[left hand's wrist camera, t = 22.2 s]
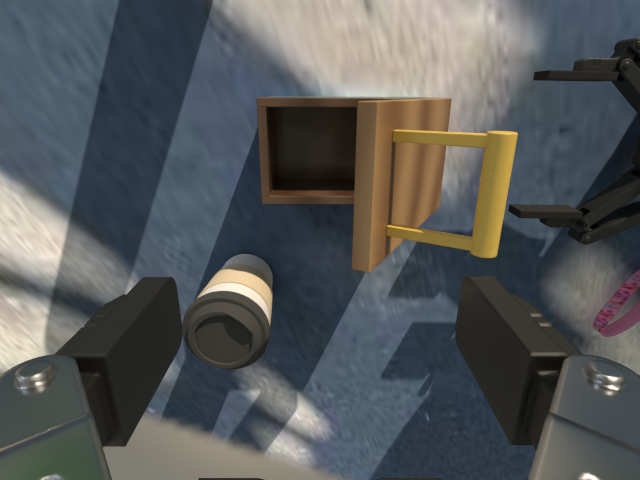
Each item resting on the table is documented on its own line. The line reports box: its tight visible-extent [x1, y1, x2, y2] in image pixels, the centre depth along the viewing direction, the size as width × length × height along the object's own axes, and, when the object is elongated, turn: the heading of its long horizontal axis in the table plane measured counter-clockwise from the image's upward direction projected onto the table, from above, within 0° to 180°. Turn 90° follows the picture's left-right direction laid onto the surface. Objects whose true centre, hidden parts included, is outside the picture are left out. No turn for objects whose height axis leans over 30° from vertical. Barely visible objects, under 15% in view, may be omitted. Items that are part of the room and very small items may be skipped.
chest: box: [257, 97, 431, 204], centre depth 43 cm, size 17×10×9 cm, turn 90°
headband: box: [593, 269, 640, 337], centre depth 53 cm, size 11×4×2 cm, turn 153°
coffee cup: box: [182, 254, 273, 369], centre depth 46 cm, size 9×9×15 cm
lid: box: [352, 98, 518, 273], centre depth 29 cm, size 18×10×8 cm
